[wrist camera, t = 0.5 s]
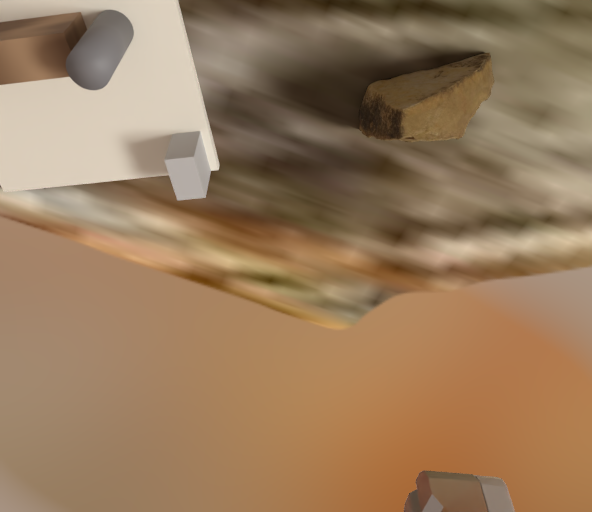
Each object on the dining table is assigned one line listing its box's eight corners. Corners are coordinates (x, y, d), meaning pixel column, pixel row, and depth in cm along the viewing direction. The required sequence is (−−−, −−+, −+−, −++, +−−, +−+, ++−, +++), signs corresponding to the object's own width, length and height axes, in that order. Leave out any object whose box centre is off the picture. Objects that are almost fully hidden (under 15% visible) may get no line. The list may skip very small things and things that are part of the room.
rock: (528, 26, 39) (394, 14, 37) (540, 141, 38) (402, 134, 36) (456, 95, 50) (349, 88, 48) (463, 187, 48) (353, 183, 46)
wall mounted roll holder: (-129, -52, 38) (-205, -16, 32) (154, -92, 36) (128, -62, 31) (7, 186, 51) (-29, 242, 46) (219, 164, 50) (209, 219, 44)
